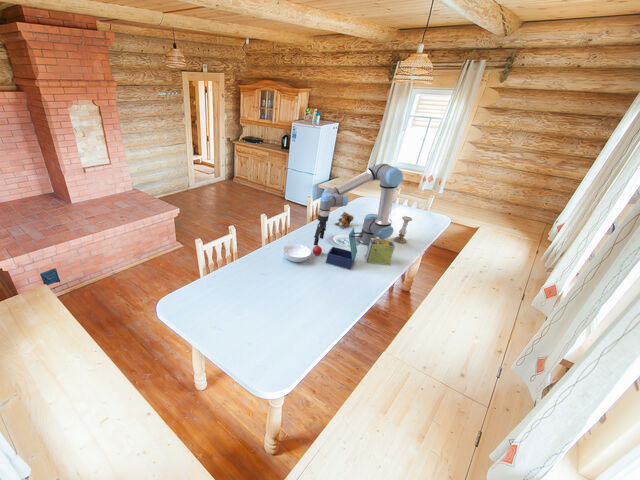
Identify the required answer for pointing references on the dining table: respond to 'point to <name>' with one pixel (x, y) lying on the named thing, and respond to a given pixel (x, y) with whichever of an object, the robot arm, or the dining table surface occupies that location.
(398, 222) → the dining table surface
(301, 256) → the serving bowl
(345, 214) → the teddy bear
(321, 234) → the robot arm
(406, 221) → the candle holder
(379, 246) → the protein box
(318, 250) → the apple
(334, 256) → the lunchbox
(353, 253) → the lid
